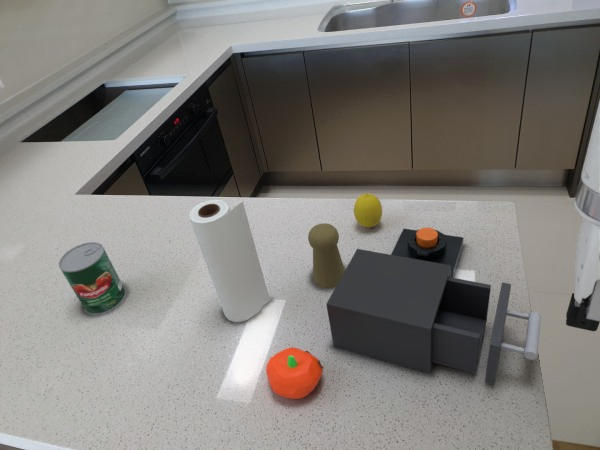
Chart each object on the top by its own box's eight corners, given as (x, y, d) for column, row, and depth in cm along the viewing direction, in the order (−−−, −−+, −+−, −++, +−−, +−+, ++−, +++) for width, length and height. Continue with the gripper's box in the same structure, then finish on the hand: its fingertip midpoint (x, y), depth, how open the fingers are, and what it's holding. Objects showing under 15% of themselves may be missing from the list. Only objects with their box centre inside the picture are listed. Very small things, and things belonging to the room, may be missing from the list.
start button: (439, 237, 82) (439, 229, 81) (434, 249, 79) (435, 241, 78) (419, 233, 83) (419, 226, 82) (414, 246, 81) (414, 238, 80)
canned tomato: (96, 321, 83) (69, 277, 77) (77, 303, 88) (50, 260, 82) (134, 295, 87) (111, 251, 81) (114, 279, 92) (91, 236, 86)
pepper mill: (324, 262, 87) (317, 215, 80) (352, 271, 83) (347, 223, 77) (306, 282, 83) (297, 234, 76) (335, 293, 80) (327, 244, 73)
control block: (462, 246, 84) (464, 229, 82) (453, 279, 78) (454, 261, 76) (403, 237, 89) (403, 220, 87) (389, 267, 83) (389, 250, 80)
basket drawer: (537, 328, 66) (545, 290, 62) (530, 395, 59) (539, 356, 54) (414, 302, 74) (414, 265, 70) (394, 357, 66) (391, 320, 62)
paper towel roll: (218, 319, 79) (180, 219, 66) (234, 295, 83) (201, 196, 71) (255, 327, 76) (223, 224, 64) (270, 301, 80) (242, 200, 68)
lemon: (353, 221, 96) (349, 189, 91) (379, 216, 95) (377, 184, 91) (358, 237, 91) (355, 204, 86) (386, 232, 91) (384, 198, 86)
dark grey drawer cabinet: (449, 310, 73) (451, 265, 67) (430, 375, 64) (430, 329, 58) (361, 291, 79) (357, 248, 73) (333, 347, 70) (326, 303, 65)
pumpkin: (281, 357, 70) (273, 329, 67) (330, 369, 67) (324, 341, 64) (260, 397, 65) (251, 370, 62) (312, 413, 62) (305, 384, 58)
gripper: (679, 251, 38) (620, 383, 49) (660, 163, 48) (614, 288, 59) (575, 236, 41) (541, 363, 52) (578, 156, 52) (549, 276, 62)
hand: (580, 323), depth 55 cm, fingers closed
